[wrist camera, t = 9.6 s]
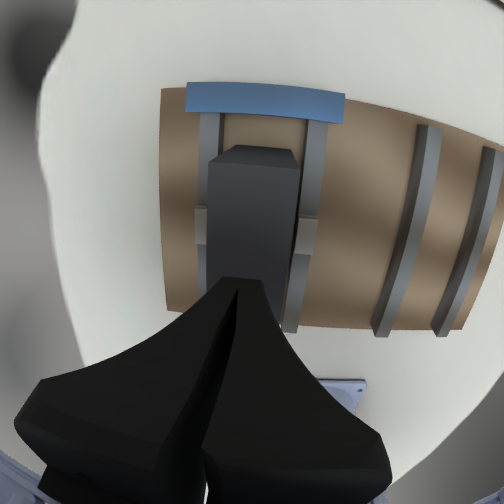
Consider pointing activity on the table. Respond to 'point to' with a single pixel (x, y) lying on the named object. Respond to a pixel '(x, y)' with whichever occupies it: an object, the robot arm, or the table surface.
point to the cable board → (340, 204)
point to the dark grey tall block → (252, 217)
